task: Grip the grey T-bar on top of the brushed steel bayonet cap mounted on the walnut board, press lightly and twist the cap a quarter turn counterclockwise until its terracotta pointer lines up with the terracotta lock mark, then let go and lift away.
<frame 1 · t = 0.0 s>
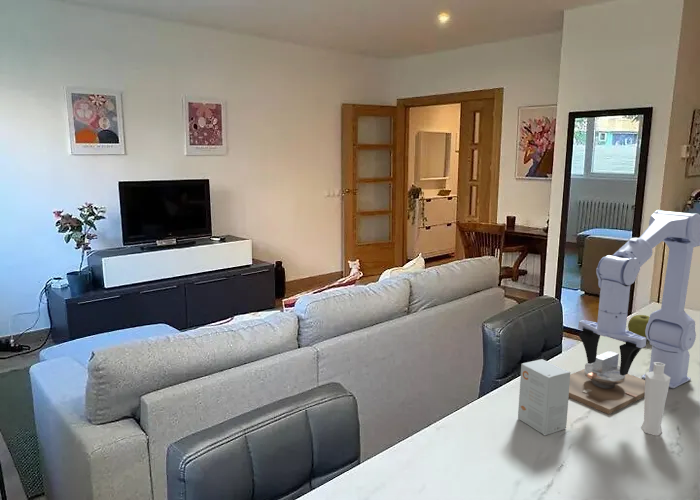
hand: (607, 368, 119), 10 cm above the table, tool pointing down, fingers open, 7 cm apart
perfume bottle: (652, 431, 112), on the table
apple: (641, 339, 166), on the table
small box: (541, 424, 115), on the table
bayonet cap: (603, 366, 130), point 6 cm above the table, hinge at 0.0°
post board: (602, 388, 132), on the table
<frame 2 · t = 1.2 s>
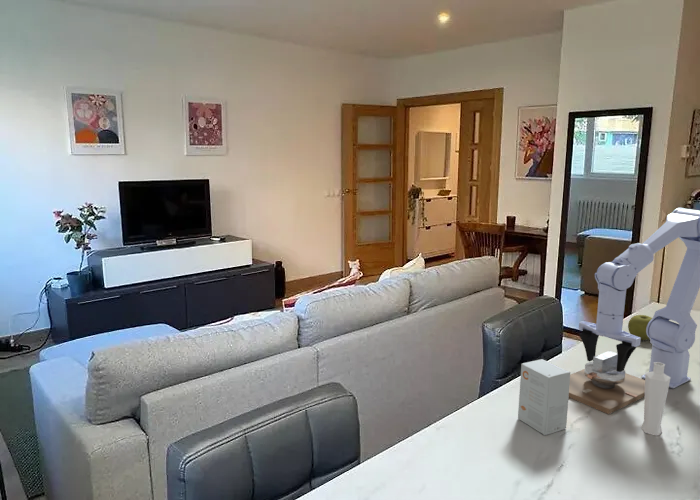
hand: (605, 365, 130), 6 cm above the table, tool pointing down, fingers open, 7 cm apart
nothing on the table moved.
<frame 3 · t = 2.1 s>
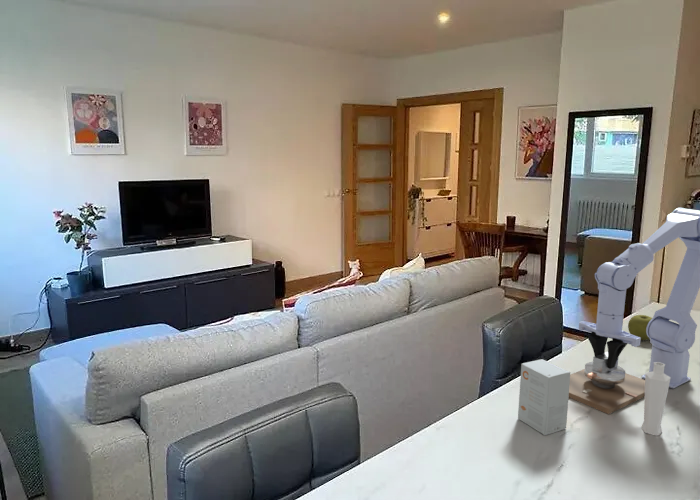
hand: (605, 365, 130), 6 cm above the table, tool pointing down, fingers closed on bayonet cap, 2 cm apart
bayonet cap: (603, 366, 130), point 6 cm above the table, hinge at 0.0°, touching gripper
everything else where it was.
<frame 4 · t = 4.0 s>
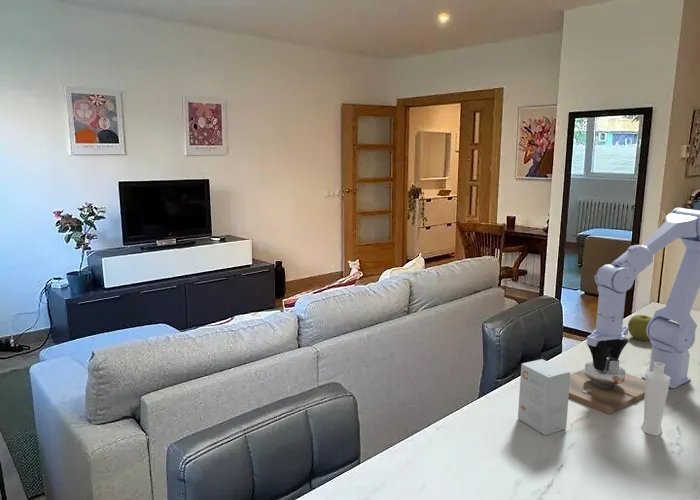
hand: (604, 367, 131), 6 cm above the table, tool pointing down, fingers closed on bayonet cap, 4 cm apart
bayonet cap: (607, 367, 129), point 6 cm above the table, hinge at 61.7°, touching gripper
everything else where it was.
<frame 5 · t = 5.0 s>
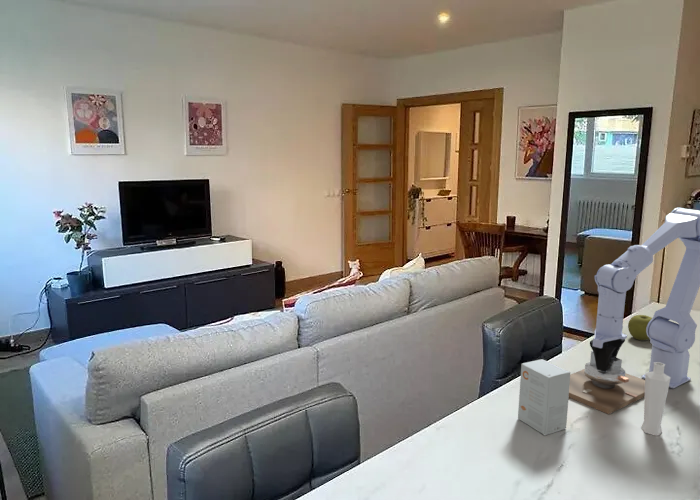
hand: (604, 367, 130), 6 cm above the table, tool pointing down, fingers closed on bayonet cap, 4 cm apart
bayonet cap: (608, 367, 130), point 6 cm above the table, hinge at 78.0°, touching gripper
everything else where it was.
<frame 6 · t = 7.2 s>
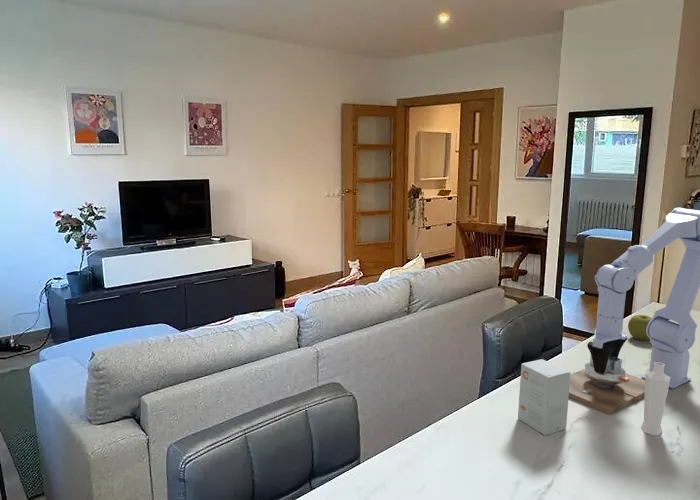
hand: (605, 367, 130), 6 cm above the table, tool pointing down, fingers open, 7 cm apart
bayonet cap: (608, 367, 130), point 6 cm above the table, hinge at 79.3°
everything else where it was.
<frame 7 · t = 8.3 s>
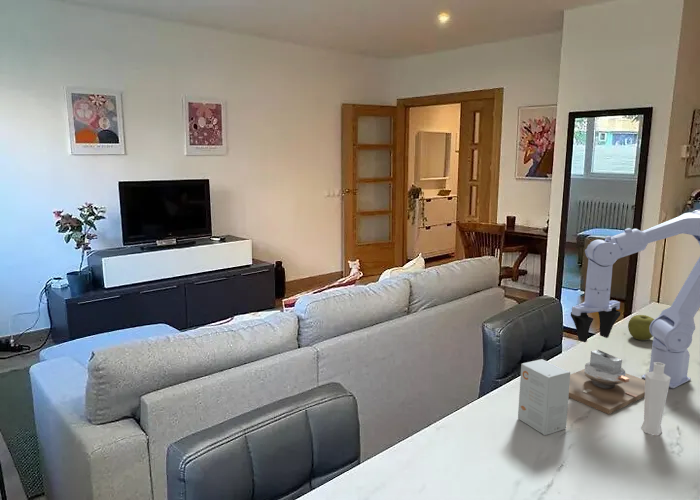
hand: (593, 338, 137), 10 cm above the table, tool pointing down, fingers open, 7 cm apart
nothing on the table moved.
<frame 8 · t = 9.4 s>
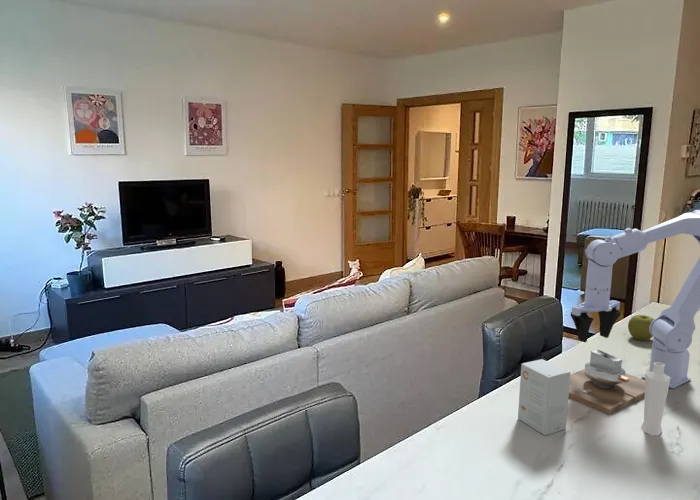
hand: (593, 338, 137), 10 cm above the table, tool pointing down, fingers open, 7 cm apart
nothing on the table moved.
at the end: bayonet cap at +79° (first picture: +0°); the gripper is holding nothing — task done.
